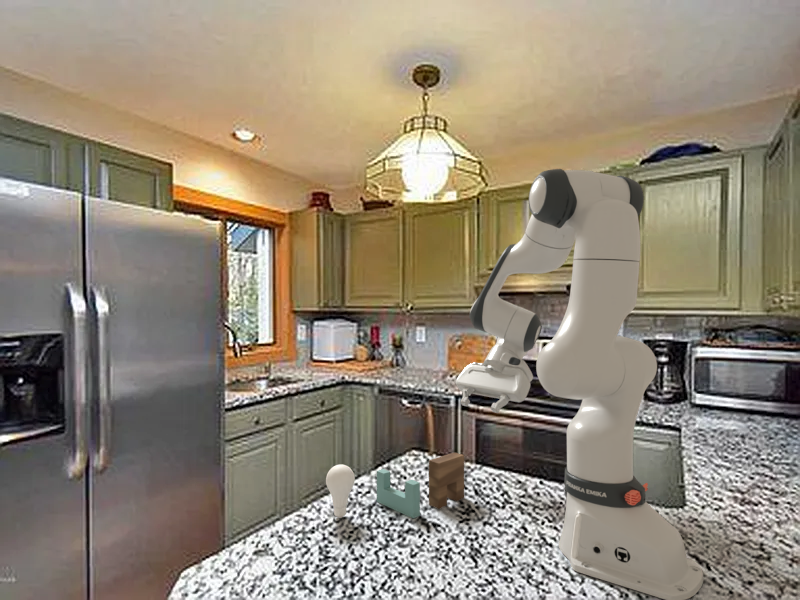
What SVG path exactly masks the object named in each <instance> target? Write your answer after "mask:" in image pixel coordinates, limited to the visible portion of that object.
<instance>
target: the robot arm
mask: <svg viewBox="0 0 800 600" xmlns="http://www.w3.org/2000/svg"><path fill="white" fill-rule="evenodd" d="M644 200H645V198H644V190H643V188H642V186H641V184H640V183H639V182H638V181H636V180H634V179H633V178H632V179H631V178H630V177H628V176H623V175H617V176H616V175H612V174H607V173H601V172H595V171H592V170H585V169H584V170H583V169H582V170H581V169H568V170H567V169H566V170H563V168H562V169H561V168H553V169H546V170H543V171H542V172H540V173H539V174H538V175H537V176H536V177H535V178H534V180H533V182H532V184H531V186H530V189H529V193H528V208H529V211H530V212H531V215H530V218H529V220H528V223H527V226H526V228H525V231H524V234H523V235H522V237H521V239H520V240H519V241H518V242H516V243H514V244H513V243H512V244H509V245H508V246H507V247H506V248H505V249H504V251H503V252H502V254H501V255H500V256H499V258H498V260H497V262H496V264H495V265H494V267H493V269H492V270H491V273H490V274H489V277H488V278H487V281H486V282H485V285H484V286H483V288H482V290H481V292H480V294H479V295H478V297H477V298H476V300H475V301H474V303H473V304H472V306H471V308H470V311H469V315H468V317H469V320H470V322H471V324H472V327H473V328H474V329H475V330H477V331H478V330H479V331H482V332H483V333H488V334H490V335H492V336H494V337H497V338H496V342H495V345H493V346H492V347H491V348H490V351H489V352H488V353H487V356H486V357H485V359H484V361H483V362H477V361H476V362H475V361H473V362H472V363H470V364H467V365H466V367H464V368H463V370H462V371H461V372H460V373H459V375H458V376H457V378H456V379H455V385H456V387H457V389H458V390H459V391H460V392H461V393H462V398H461V400H460V405H462V406H464V407H469V404H470V403H471V401H470V399H469V397H471V395H472V394H473V395H477V396H484V397H489V398H492V399H493V398H494V399H499V400H497V401H496V402H492V403H491V406H490V410H491V412H492V413H497V414H498V413H499V412H500V410H501V408H503V407H505V406H507V404H509V402H515V403H522V402H524V401H525V400H526V398H527V396H528V394H529V391H530V388H531V382H532V381H533V379H534V375H533V373H532V371H531V369H530V367H529V366H528V364H527V362H526V361H525V360H524V359H523V358H524V357H526V355H527V353H528V352H529V351H531V350H532V349H534V346H535V344H536V342H537V341H538V339H539V337H540V335H541V332H542V327H543V325H542V322H541V319H540V317H539V315H538V314H537V313H535V312H533V311H532V310H529V309H526V308H524V307H522V306H519V305H516V304H514V303H511V302H509V301H507V300H504V299H502V298H501V297H500V296H499V294H500V292H501V290H502V288H503V286H504V284H505V283H506V280H507V279H508V277H509V276H511V275H516V274H531V275H533V274H534V275H538V274H541V275H542V274H546V273H550V272H554V271H556V270H558V269H559V268H561V267H562V266H563V265H564V264H565V262H566V261H567V260H568V257H569V255H570V253H571V251H572V249H573V246H574V249H573V257H572V258H573V261H572V273H571V282H570V293H569V298H568V304H567V308H566V310H565V313H564V316H563V319H562V320H561V322H560V325H559V328H558V329H557V331H556V332H555V334H554V335H553V337H552V339H550V340H549V342H548V343H547V344H545V346H543V347H542V348H541V350H540V351H539V352H538V355H537V358H536V363H535V364H536V366H535V367H536V368H535V369H536V370H535V371H536V375H537V377H538V382H539V383H540V385H541V386H542V388H543V389H544V391H546V392H547V393H549V394H550V395H552V396H554V397H557V398H561V399H562V398H563V399H569V400H577V401H578V400H581V403H580V406H579V409H578V411H577V412H576V414H575V416H574V417H573V418H572V419H571V420H570V422H569V423H568V426H567V429H566V467H565V469H564V495H565V498H566V502H565V513H564V521H563V525H562V530H561V534H560V537H559V541H558V547H559V550H560V552H561V553H562V554H563V555H564V556H565V557H566V558H567V560H568V561H569V563H570V567H571V569H573V571H575V572H577V573H581V574H584V575H587V576H590V577H593V578H595V579H600V580H602V581H605V582H608V583H612V584H615V585H617V586H621V587H624V588H627V589H631V590H634V591H637V592H640V593H643V594H646V595H650V596H653V597H656V598H659V599H663V600H688V599H690V598H692V597H693V596H695V595H696V594H697V593H698V592H699V591H700V590H701V587H702V586H703V584H704V573H703V568H702V567H701V565H700V564H699V563H698V562H696V561H695V560H692V559H690V558H688V557H687V551H686V547H685V543H684V540H683V537H682V536H681V533H680V531H679V530H678V529H677V528H676V527H675V526H674V525H673V524H671V523H670V522H668V520H666V519H665V518H664V517H663V516H662V515H661V514H660V513H659V512H658V511H657V510H655V509H654V508H653V507H652V506H651V505H650V504H649V503H648V502H647V501H646V499H647V498H646V492H647V491H648V490H649V488H648V485H649V484H648V482H646V483H644V484H642V483H640V481H638V479H637V478H636V477H635V476H634V436H635V435H634V432H635V426H636V422H637V419H638V413H639V409H640V406H641V404H642V400H643V396H644V394H645V391H646V390H647V388H648V387H649V385H650V384H651V383H652V381H653V380H654V379H655V377H656V374H657V370H658V362H657V358H656V356H655V353H654V352H653V350H652V349H651V348H650V347H649V346H648V345H647V344H646V343H644V342H642V341H640V340H636V339H634V338H630V337H627V336H622V335H618V333H619V331H620V329H621V327H622V324H623V323H624V320H625V319H626V318H627V317H628V315H629V314H631V312H632V311H633V310H634V309H635V307H636V305H637V302H638V301H637V299H638V287H639V277H640V261H641V232H640V231H641V230H640V222H639V216H640V214H641V213H642V210H643V207H644Z"/></svg>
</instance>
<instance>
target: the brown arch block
mask: <svg viewBox="0 0 800 600" xmlns="http://www.w3.org/2000/svg"><path fill="white" fill-rule="evenodd" d="M448 499H450V500H451V501H455V502H458V501H460V500H463V499H465V455H464V454H462V453H458V452H451V453H448V454H445V455H442V456H438V457H435V458H432V459H429V460H428V506H431V507H433V508H436V509H438V510H440V509H442V508H444V507H446V506H448Z"/></svg>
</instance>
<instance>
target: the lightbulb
mask: <svg viewBox="0 0 800 600" xmlns="http://www.w3.org/2000/svg"><path fill="white" fill-rule="evenodd" d="M355 478H356V477H355V473H354V472H353V470H352V469H351V467H349V466H348V465H346V464H336V465H334V466H332V467H331V468H330V469H329V470H328V472H327V474H326V478H325V484H326V487H327V490H328V491H329V493H330V496H331V498H332V499H331V500H332V505H333V511H334V512H333V513H334V514H333V515H334V516H335V517H337V518H339V519H343V517H345V516H346V515H347V506H348V503H349V497H350V494H351V491H352V490H353V487H354V486H355V482H356V481H355V480H356V479H355Z"/></svg>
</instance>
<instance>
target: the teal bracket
mask: <svg viewBox="0 0 800 600" xmlns="http://www.w3.org/2000/svg"><path fill="white" fill-rule="evenodd" d="M376 503H379V504H381V505H382V506H385V507H387V508H389V509H392V510H394V511H396V512H398V513H400V514H403V515H404V516H406V517H409V518H411V519H415V518H417V517H420V516H421V483H420V482H419V481H417V480H414V479H409V480H406V481H404V491H402V490H398V489H396V488H394V487H391V471H389V470H387V469H385V468H382V469H378V470H376Z"/></svg>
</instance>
